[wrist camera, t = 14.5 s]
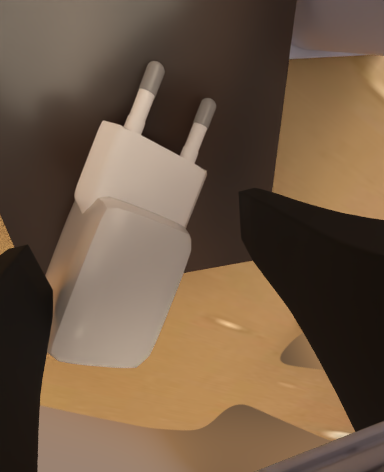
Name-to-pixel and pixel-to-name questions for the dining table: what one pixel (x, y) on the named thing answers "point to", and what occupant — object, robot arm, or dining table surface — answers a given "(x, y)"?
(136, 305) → the power adapter
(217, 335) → the dining table surface
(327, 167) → the dining table surface
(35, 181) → the stool
